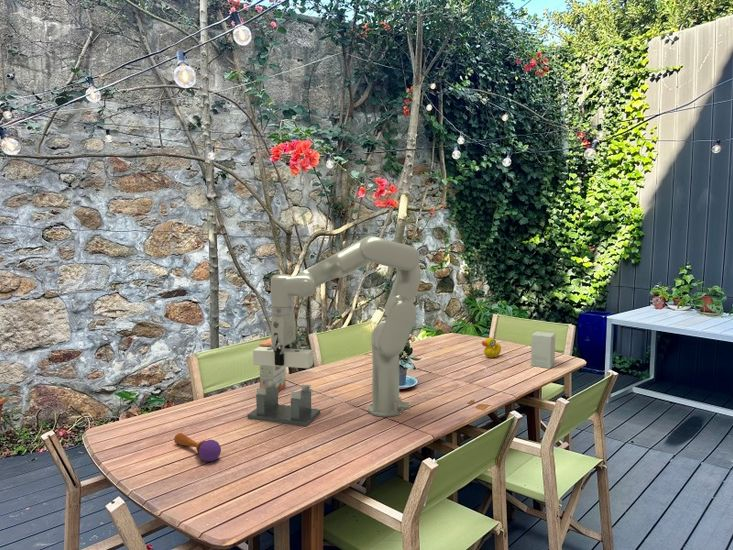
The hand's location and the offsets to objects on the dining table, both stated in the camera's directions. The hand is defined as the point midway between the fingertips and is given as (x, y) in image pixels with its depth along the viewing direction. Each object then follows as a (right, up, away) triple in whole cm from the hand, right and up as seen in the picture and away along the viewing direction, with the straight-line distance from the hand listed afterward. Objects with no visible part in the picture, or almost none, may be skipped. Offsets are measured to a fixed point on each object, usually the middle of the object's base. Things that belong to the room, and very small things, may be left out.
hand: (283, 362), depth 179 cm
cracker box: (-8, -16, +28) cm, 33 cm away
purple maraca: (-21, -23, -25) cm, 40 cm away
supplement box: (+111, -12, +65) cm, 129 cm away
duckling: (+90, -11, +78) cm, 119 cm away
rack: (0, -19, +2) cm, 19 cm away
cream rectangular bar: (0, -1, 0) cm, 1 cm away
